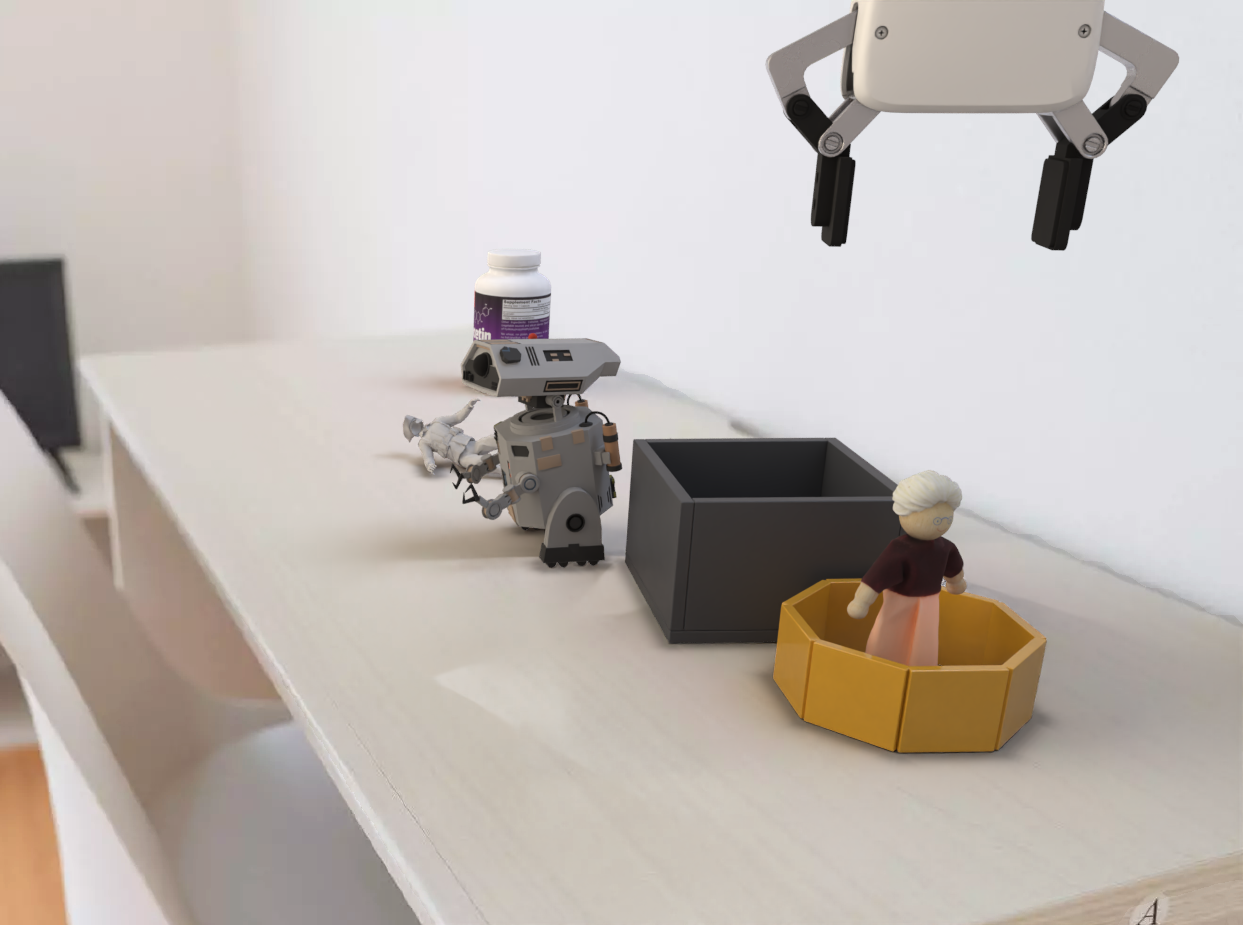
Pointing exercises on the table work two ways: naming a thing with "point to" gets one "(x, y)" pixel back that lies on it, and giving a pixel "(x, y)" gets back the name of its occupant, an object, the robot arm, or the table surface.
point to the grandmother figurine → (913, 573)
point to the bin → (748, 529)
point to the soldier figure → (449, 439)
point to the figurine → (548, 441)
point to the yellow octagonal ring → (909, 673)
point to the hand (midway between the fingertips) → (938, 245)
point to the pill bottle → (512, 297)
